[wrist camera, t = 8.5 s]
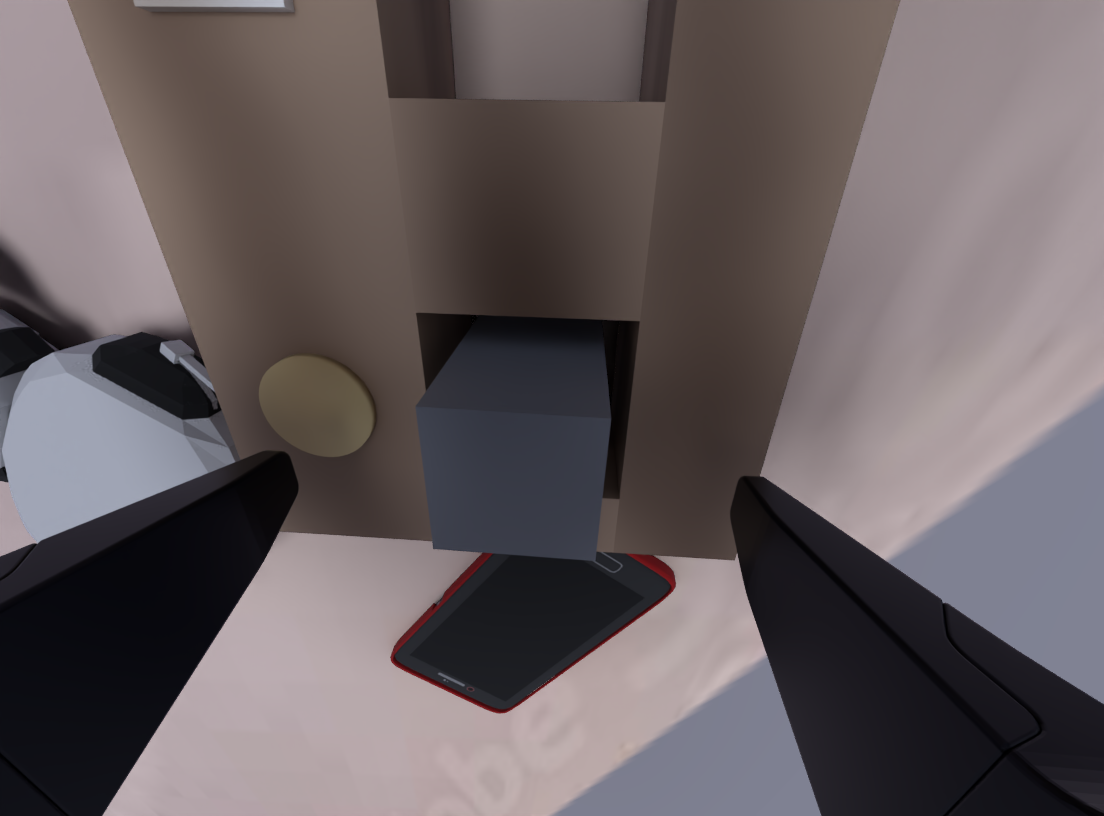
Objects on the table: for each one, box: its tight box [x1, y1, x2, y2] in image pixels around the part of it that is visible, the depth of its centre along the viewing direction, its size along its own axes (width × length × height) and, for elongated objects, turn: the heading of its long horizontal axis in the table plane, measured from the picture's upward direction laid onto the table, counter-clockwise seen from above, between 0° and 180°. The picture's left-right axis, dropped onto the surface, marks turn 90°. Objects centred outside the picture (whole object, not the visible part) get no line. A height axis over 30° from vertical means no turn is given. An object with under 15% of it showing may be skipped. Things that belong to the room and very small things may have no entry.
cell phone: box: [390, 552, 676, 713], centre depth 23 cm, size 8×15×1 cm, turn 143°
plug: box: [415, 315, 611, 561], centre depth 12 cm, size 3×3×8 cm
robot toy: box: [0, 309, 240, 543], centre depth 16 cm, size 12×4×15 cm
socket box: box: [67, 0, 900, 560], centre depth 11 cm, size 14×18×5 cm
